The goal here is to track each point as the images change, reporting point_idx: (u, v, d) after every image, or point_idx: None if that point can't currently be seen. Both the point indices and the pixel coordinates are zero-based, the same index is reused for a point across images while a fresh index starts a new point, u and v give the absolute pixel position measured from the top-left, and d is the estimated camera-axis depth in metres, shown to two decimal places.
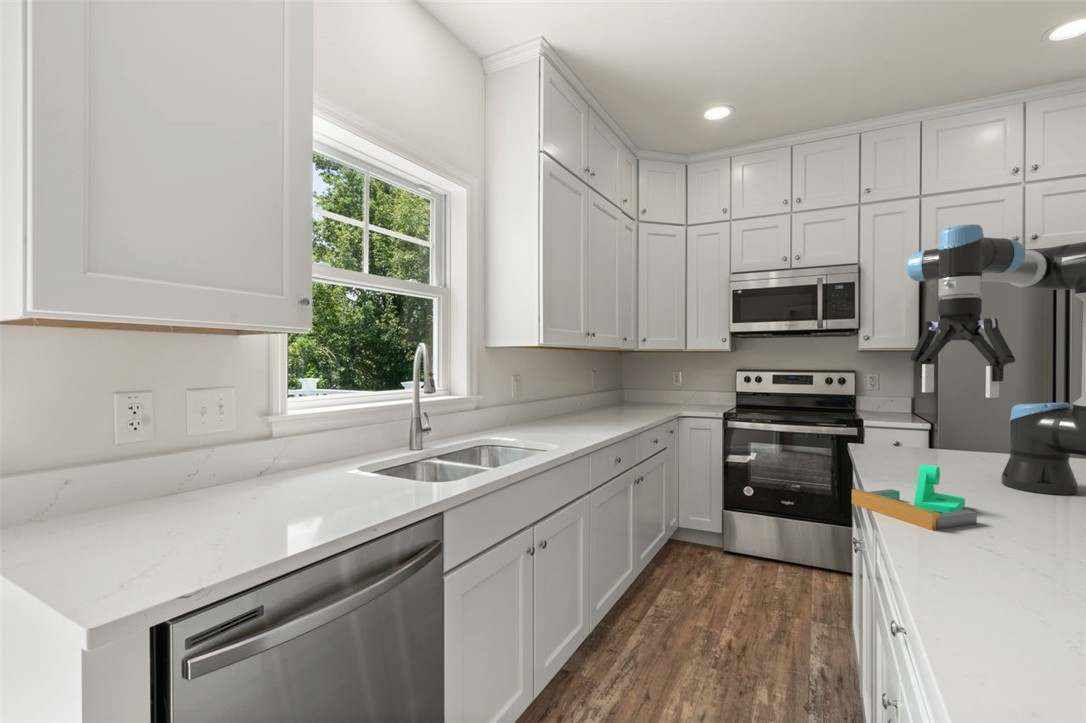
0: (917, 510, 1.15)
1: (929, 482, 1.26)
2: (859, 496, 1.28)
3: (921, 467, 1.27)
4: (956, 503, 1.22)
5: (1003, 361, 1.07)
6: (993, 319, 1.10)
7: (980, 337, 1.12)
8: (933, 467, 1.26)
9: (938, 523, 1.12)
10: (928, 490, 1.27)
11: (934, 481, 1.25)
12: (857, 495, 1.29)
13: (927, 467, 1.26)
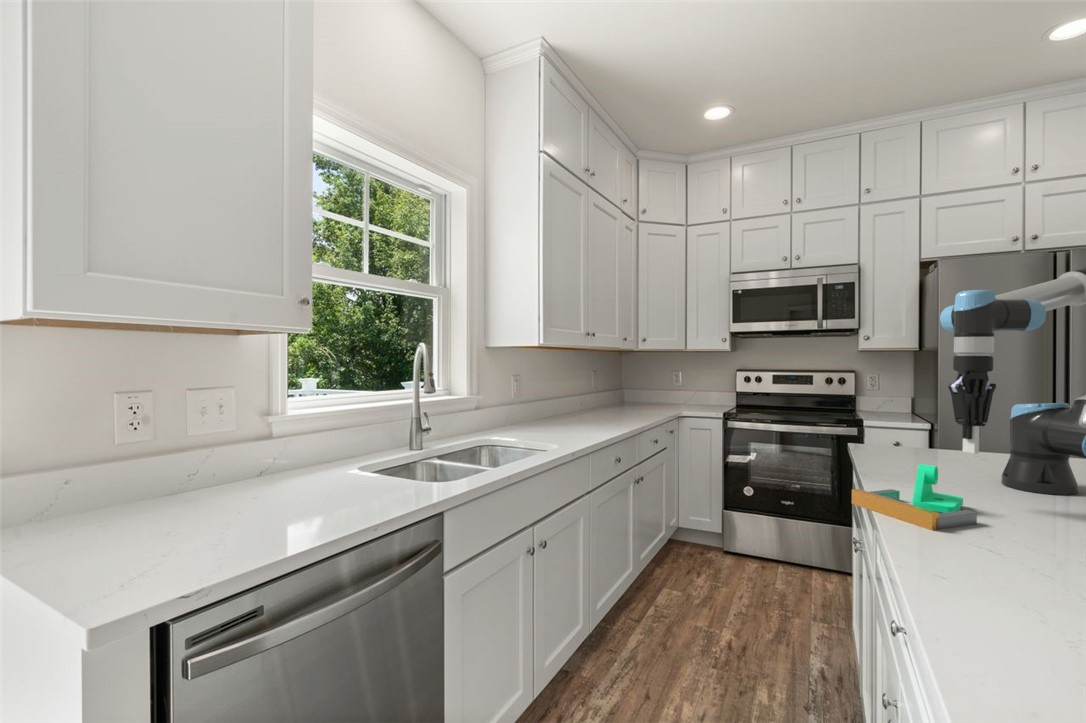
0: (917, 510, 1.15)
1: (927, 482, 1.26)
2: (859, 496, 1.28)
3: (919, 467, 1.27)
4: (954, 503, 1.22)
5: None
6: (953, 387, 1.26)
7: (968, 396, 1.27)
8: (931, 467, 1.26)
9: (938, 523, 1.12)
10: (926, 490, 1.27)
11: (932, 481, 1.25)
12: (857, 495, 1.29)
13: (925, 467, 1.27)
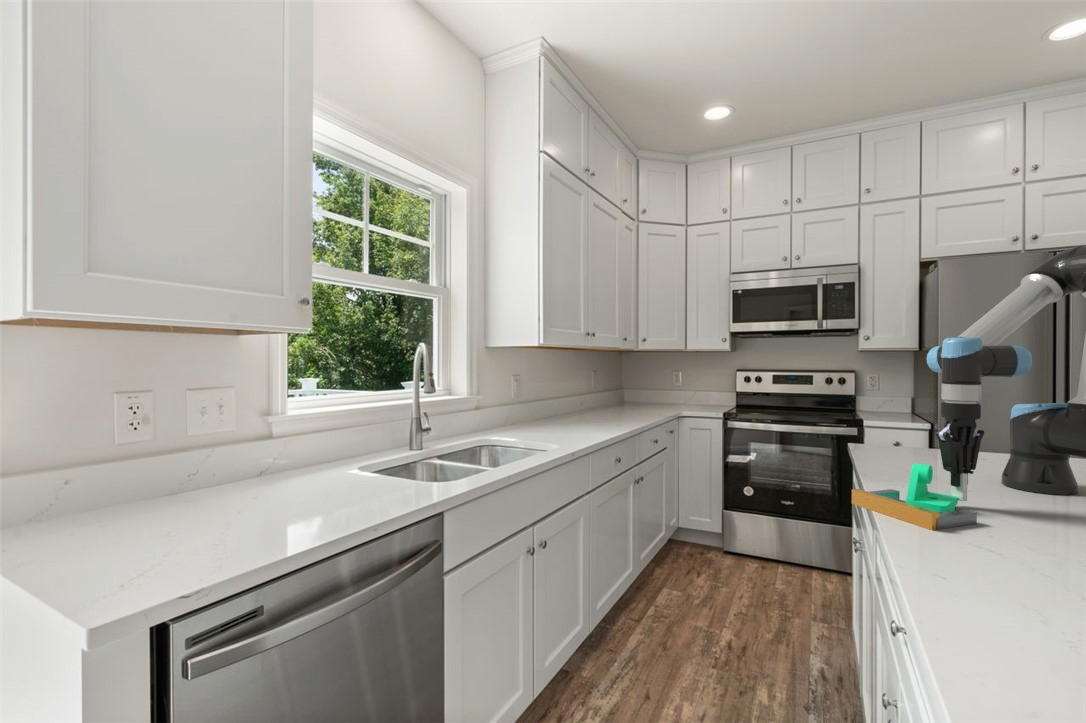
0: (917, 510, 1.15)
1: (921, 481, 1.26)
2: (859, 496, 1.28)
3: (913, 466, 1.28)
4: (948, 502, 1.23)
5: None
6: (940, 435, 1.25)
7: (956, 443, 1.26)
8: (925, 466, 1.26)
9: (938, 523, 1.12)
10: (920, 489, 1.28)
11: (926, 480, 1.25)
12: (857, 495, 1.29)
13: (919, 466, 1.27)
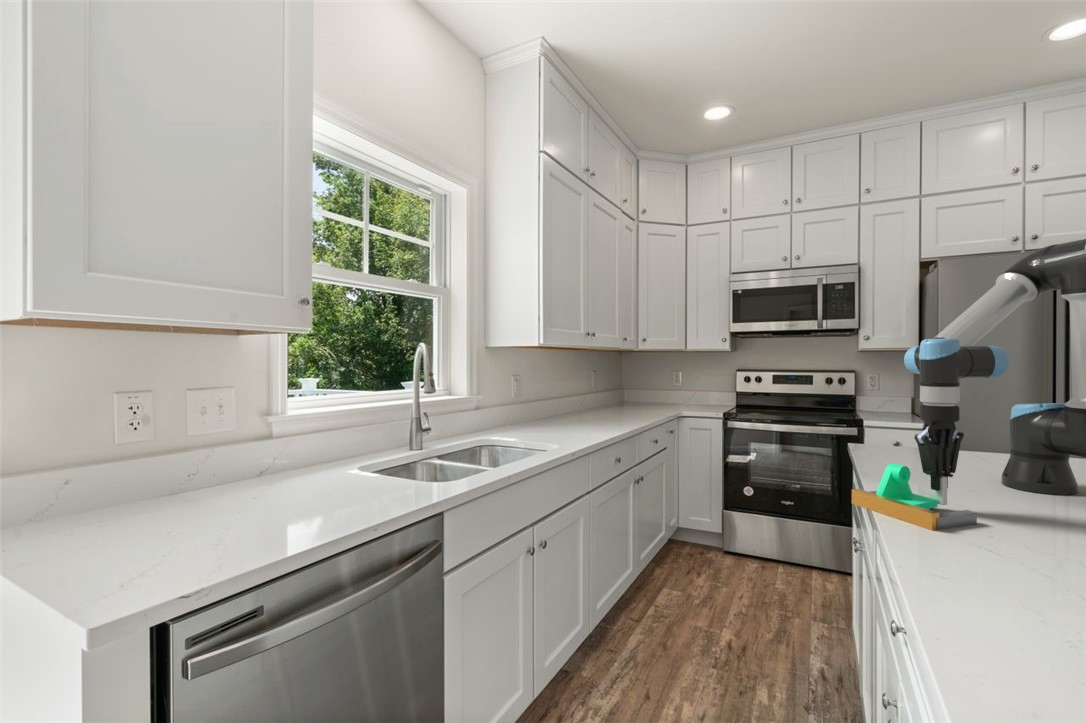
0: (917, 510, 1.15)
1: (894, 481, 1.27)
2: (859, 496, 1.28)
3: (888, 466, 1.28)
4: (917, 503, 1.22)
5: None
6: (919, 438, 1.23)
7: (935, 446, 1.24)
8: (899, 466, 1.26)
9: (938, 523, 1.12)
10: (896, 489, 1.28)
11: (898, 480, 1.26)
12: (857, 495, 1.29)
13: (893, 466, 1.27)
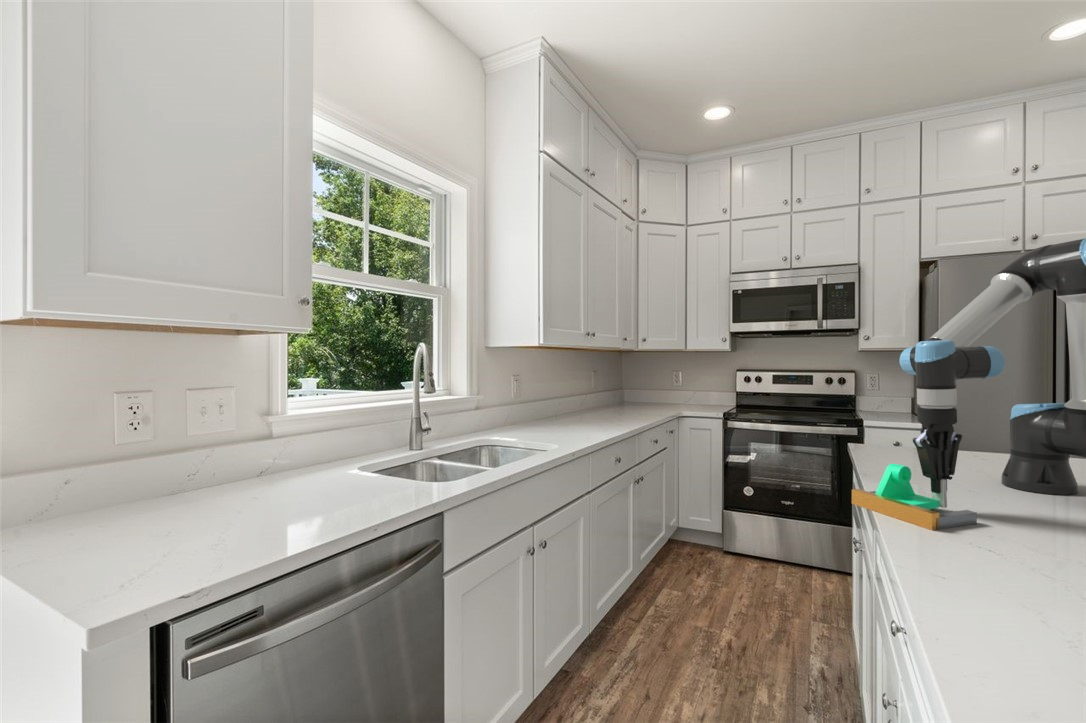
0: (917, 510, 1.15)
1: (895, 481, 1.27)
2: (859, 496, 1.28)
3: (889, 466, 1.28)
4: (916, 503, 1.22)
5: None
6: (917, 442, 1.22)
7: (934, 449, 1.23)
8: (899, 466, 1.26)
9: (938, 523, 1.12)
10: (897, 489, 1.28)
11: (898, 480, 1.25)
12: (857, 495, 1.29)
13: (893, 466, 1.27)
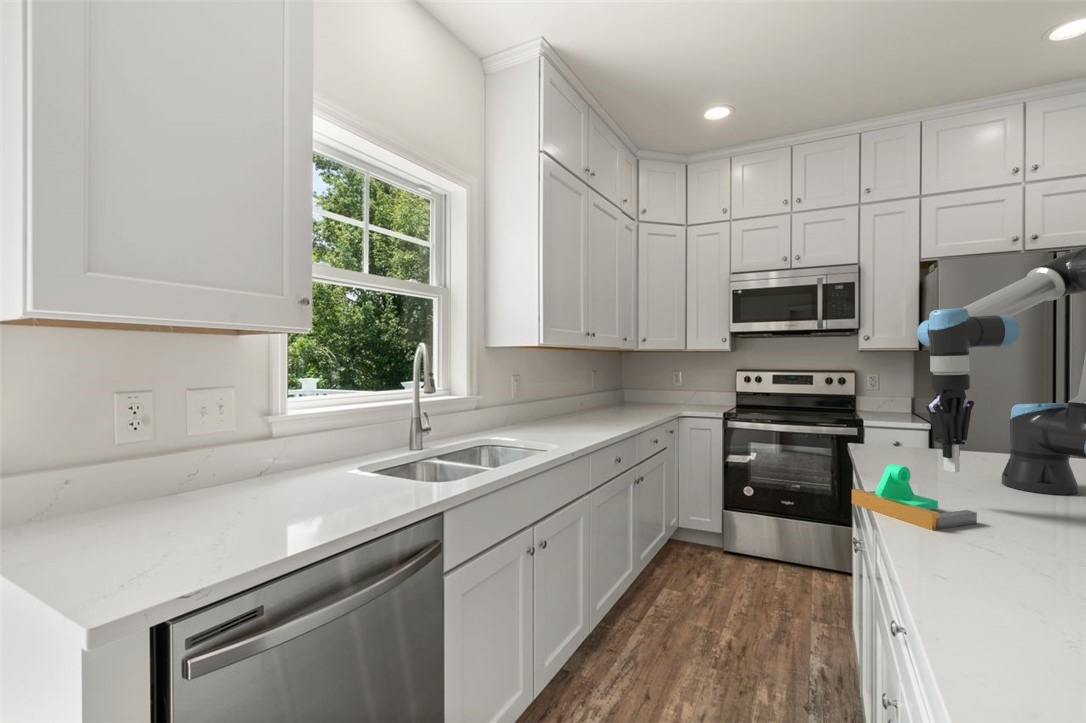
0: (917, 510, 1.15)
1: (894, 481, 1.27)
2: (859, 496, 1.28)
3: (888, 466, 1.28)
4: (915, 504, 1.22)
5: None
6: (931, 407, 1.25)
7: (946, 415, 1.26)
8: (899, 467, 1.26)
9: (938, 523, 1.12)
10: (896, 490, 1.28)
11: (897, 480, 1.26)
12: (857, 495, 1.29)
13: (892, 467, 1.27)
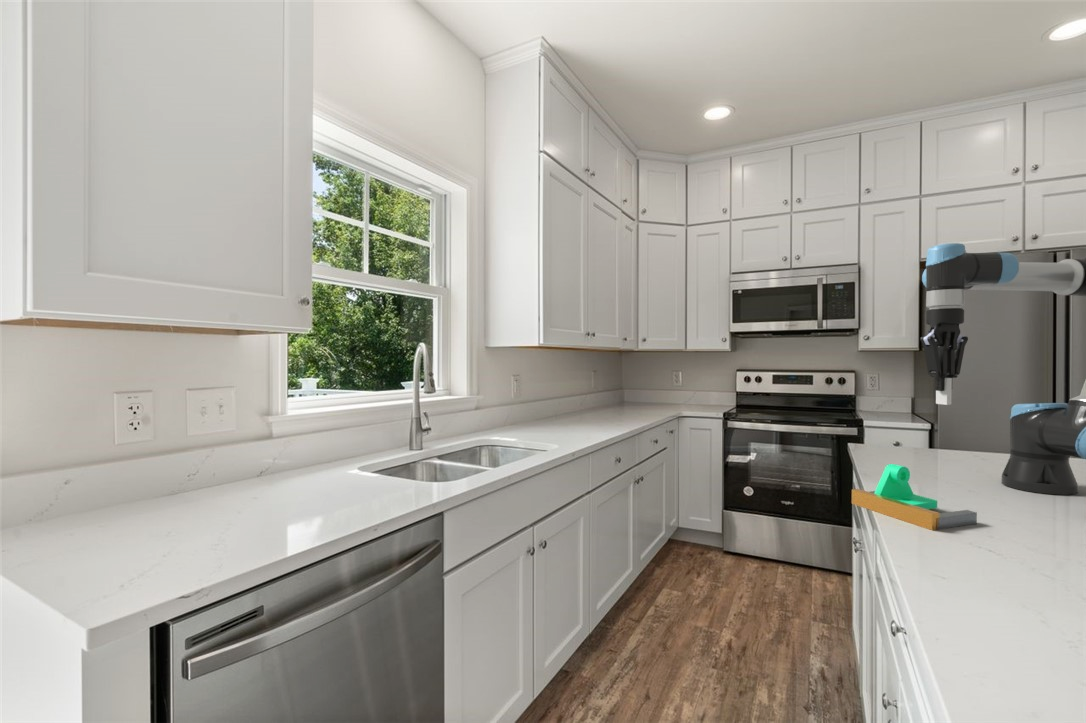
0: (917, 510, 1.15)
1: (893, 481, 1.27)
2: (859, 496, 1.28)
3: (887, 466, 1.28)
4: (915, 503, 1.22)
5: None
6: (925, 339, 1.28)
7: (940, 348, 1.29)
8: (898, 467, 1.27)
9: (938, 523, 1.12)
10: (895, 489, 1.28)
11: (896, 480, 1.26)
12: (857, 495, 1.29)
13: (892, 467, 1.27)
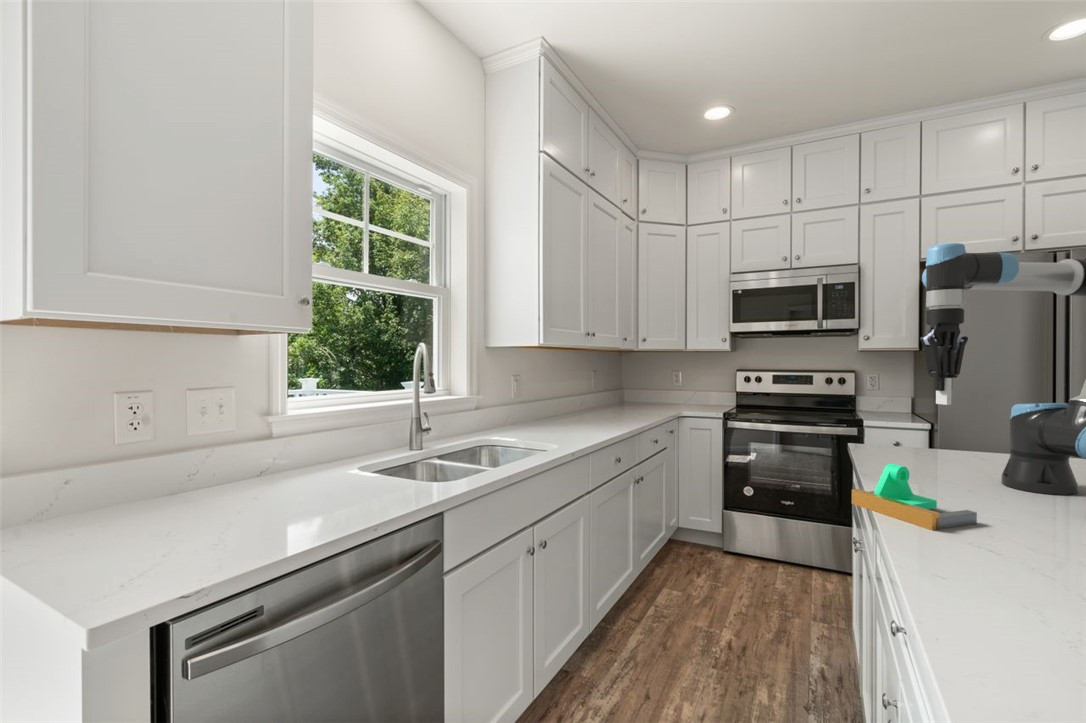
0: (917, 510, 1.15)
1: (893, 481, 1.27)
2: (859, 496, 1.28)
3: (887, 466, 1.29)
4: (914, 503, 1.22)
5: None
6: (925, 339, 1.28)
7: (940, 348, 1.29)
8: (897, 466, 1.27)
9: (938, 523, 1.12)
10: (895, 489, 1.28)
11: (896, 480, 1.26)
12: (857, 495, 1.29)
13: (891, 467, 1.28)
